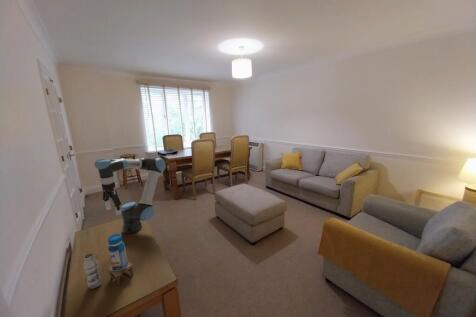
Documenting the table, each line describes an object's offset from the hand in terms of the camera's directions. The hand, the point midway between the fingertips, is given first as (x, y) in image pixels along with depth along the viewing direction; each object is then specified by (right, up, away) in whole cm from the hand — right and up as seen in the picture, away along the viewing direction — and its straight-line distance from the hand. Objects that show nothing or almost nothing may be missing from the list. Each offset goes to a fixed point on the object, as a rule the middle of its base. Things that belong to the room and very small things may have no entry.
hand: (113, 211), depth 135 cm
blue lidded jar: (+15, -28, -18) cm, 36 cm away
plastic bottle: (+4, -37, -22) cm, 43 cm away
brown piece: (+16, -35, -16) cm, 41 cm away
